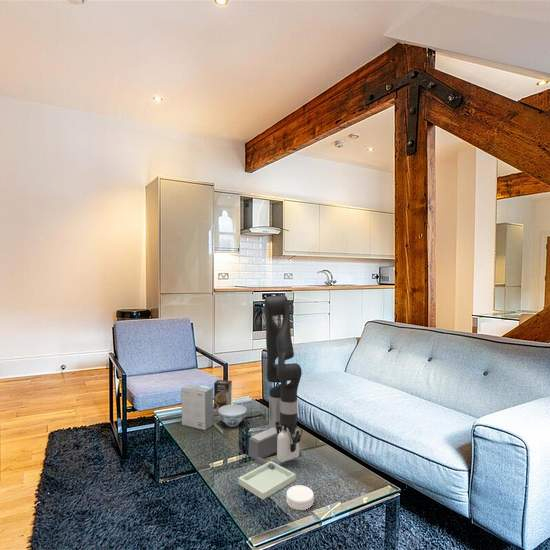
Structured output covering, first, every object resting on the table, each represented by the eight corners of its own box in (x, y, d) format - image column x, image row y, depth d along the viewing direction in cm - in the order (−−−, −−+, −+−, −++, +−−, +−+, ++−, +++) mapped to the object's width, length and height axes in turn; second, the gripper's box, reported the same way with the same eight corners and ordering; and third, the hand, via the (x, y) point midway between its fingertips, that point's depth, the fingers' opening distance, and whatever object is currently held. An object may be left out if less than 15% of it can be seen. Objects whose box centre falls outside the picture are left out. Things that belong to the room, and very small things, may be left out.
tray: (270, 466, 161) (270, 460, 161) (295, 480, 152) (295, 474, 151) (238, 483, 148) (238, 477, 148) (263, 500, 139) (263, 493, 139)
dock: (275, 443, 182) (275, 425, 182) (301, 455, 171) (301, 436, 170) (246, 457, 169) (246, 438, 168) (272, 471, 158) (272, 450, 157)
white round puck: (317, 509, 134) (317, 499, 134) (290, 512, 132) (290, 503, 132) (309, 492, 144) (309, 483, 144) (283, 495, 142) (283, 486, 142)
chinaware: (250, 419, 208) (250, 406, 208) (241, 431, 194) (241, 416, 193) (224, 416, 212) (224, 403, 212) (213, 428, 197) (213, 413, 197)
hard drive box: (213, 424, 201) (213, 387, 201) (205, 430, 194) (205, 392, 194) (189, 419, 208) (189, 383, 207) (180, 424, 201) (180, 387, 200)
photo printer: (294, 452, 168) (295, 425, 168) (300, 456, 165) (301, 428, 164) (275, 459, 163) (275, 430, 162) (281, 463, 159) (281, 434, 159)
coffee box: (213, 410, 221) (213, 382, 220) (216, 406, 227) (217, 379, 227) (228, 411, 219) (228, 383, 219) (231, 407, 226) (231, 380, 225)
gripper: (307, 412, 161) (306, 452, 161) (282, 403, 171) (282, 440, 171) (295, 417, 155) (294, 458, 156) (270, 407, 165) (270, 446, 166)
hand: (288, 449), depth 164 cm, fingers closed on photo printer, 4 cm apart
